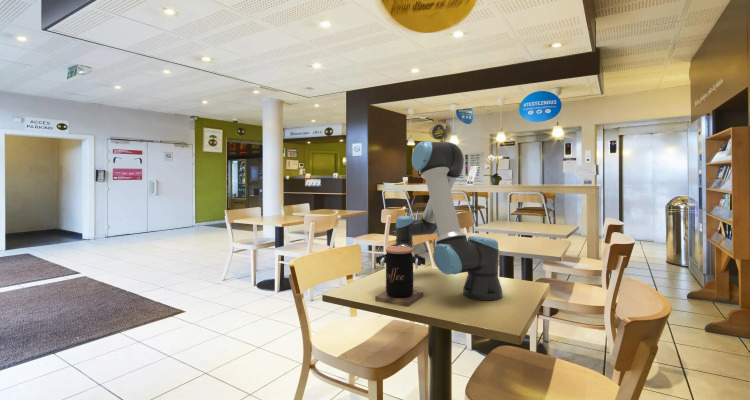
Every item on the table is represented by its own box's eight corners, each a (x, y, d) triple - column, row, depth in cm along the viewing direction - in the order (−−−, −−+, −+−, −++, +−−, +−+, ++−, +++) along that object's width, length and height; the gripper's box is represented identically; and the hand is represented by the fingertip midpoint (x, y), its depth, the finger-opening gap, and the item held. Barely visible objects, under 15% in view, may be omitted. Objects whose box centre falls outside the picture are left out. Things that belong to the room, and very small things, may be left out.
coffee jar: (380, 294, 150) (379, 248, 149) (399, 288, 157) (399, 245, 156) (400, 300, 142) (399, 252, 141) (419, 294, 149) (418, 248, 148)
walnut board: (423, 296, 152) (423, 292, 152) (408, 306, 140) (408, 302, 140) (392, 290, 159) (392, 287, 159) (375, 300, 147) (375, 296, 147)
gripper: (431, 263, 168) (431, 275, 147) (374, 261, 172) (367, 273, 151) (431, 246, 168) (431, 256, 147) (374, 245, 171) (367, 254, 150)
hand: (398, 265), depth 149 cm, fingers open, 13 cm apart
